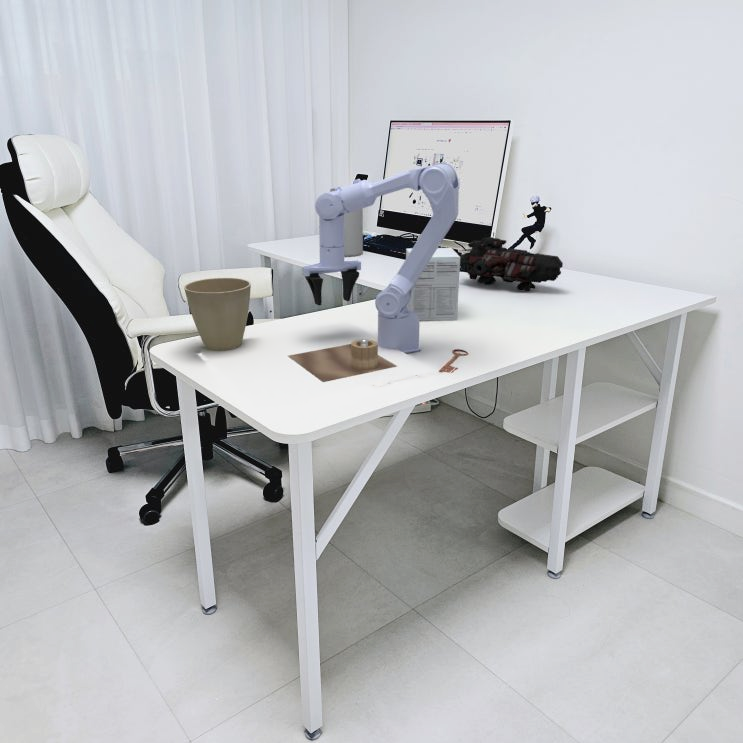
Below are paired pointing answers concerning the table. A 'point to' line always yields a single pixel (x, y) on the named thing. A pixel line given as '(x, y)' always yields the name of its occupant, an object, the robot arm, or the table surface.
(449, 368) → the key
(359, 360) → the bead
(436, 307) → the supplement box
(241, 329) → the plant pot
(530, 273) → the spaceship model
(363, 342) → the silver metal cylinder
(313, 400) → the table surface
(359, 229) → the cylinder vase
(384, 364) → the fabric cloth
